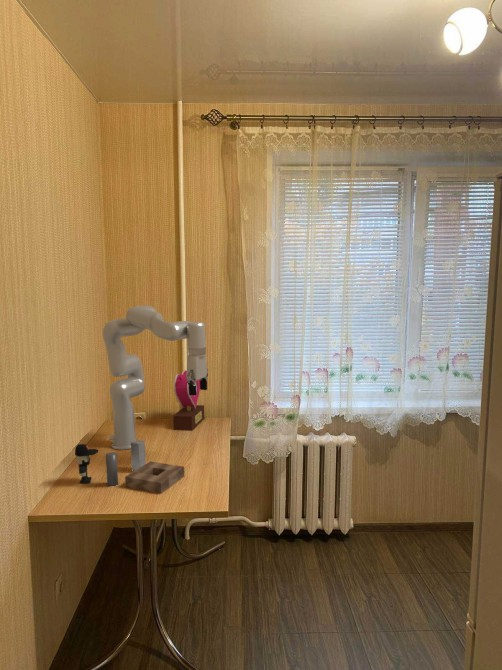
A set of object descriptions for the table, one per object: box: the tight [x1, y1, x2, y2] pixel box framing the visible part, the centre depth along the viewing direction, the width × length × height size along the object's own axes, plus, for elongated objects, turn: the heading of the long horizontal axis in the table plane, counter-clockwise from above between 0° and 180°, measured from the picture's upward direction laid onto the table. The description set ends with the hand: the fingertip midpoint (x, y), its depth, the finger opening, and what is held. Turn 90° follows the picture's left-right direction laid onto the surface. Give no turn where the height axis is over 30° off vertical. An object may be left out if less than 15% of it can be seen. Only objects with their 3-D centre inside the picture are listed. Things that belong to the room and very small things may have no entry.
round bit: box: [105, 451, 119, 487], centre depth 178 cm, size 4×4×12 cm
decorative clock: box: [172, 369, 206, 432], centre depth 250 cm, size 25×10×30 cm, turn 168°
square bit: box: [130, 439, 147, 472], centre depth 192 cm, size 4×4×12 cm
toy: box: [74, 443, 99, 484], centre depth 181 cm, size 8×8×15 cm
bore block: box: [124, 461, 185, 495], centre depth 181 cm, size 16×16×4 cm
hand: (198, 392), depth 196 cm, fingers open, 9 cm apart
